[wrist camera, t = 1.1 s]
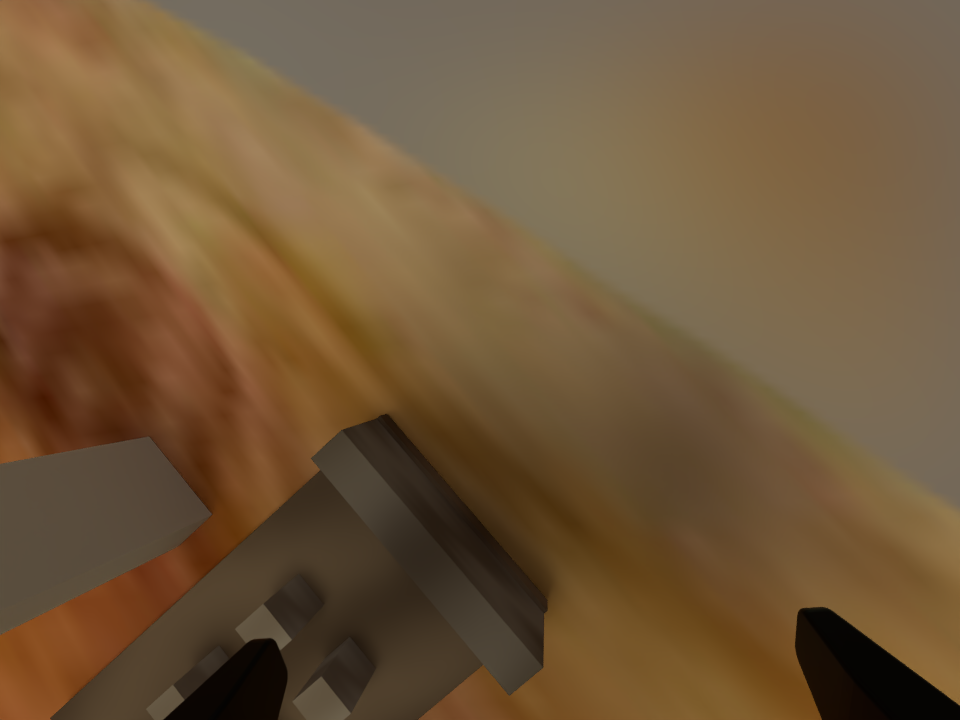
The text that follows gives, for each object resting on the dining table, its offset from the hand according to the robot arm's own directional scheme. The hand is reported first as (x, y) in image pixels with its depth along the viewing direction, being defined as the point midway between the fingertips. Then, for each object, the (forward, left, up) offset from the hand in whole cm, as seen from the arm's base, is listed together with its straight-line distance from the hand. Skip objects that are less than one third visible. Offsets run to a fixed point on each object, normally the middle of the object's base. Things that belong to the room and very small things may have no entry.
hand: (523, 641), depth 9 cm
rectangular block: (-10, +15, -15) cm, 23 cm away
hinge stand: (-14, +6, -14) cm, 21 cm away
